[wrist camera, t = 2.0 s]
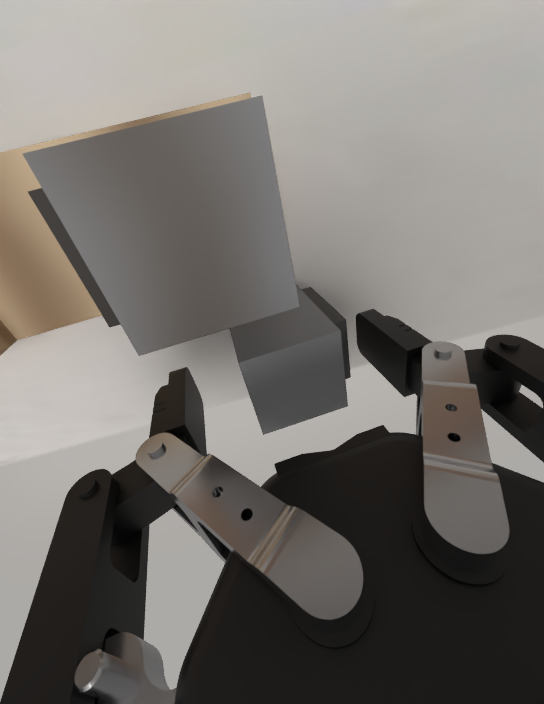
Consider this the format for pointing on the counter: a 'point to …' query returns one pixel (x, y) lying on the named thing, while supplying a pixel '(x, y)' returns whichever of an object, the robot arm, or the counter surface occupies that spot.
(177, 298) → the rail
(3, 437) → the counter surface
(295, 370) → the block
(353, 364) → the counter surface
